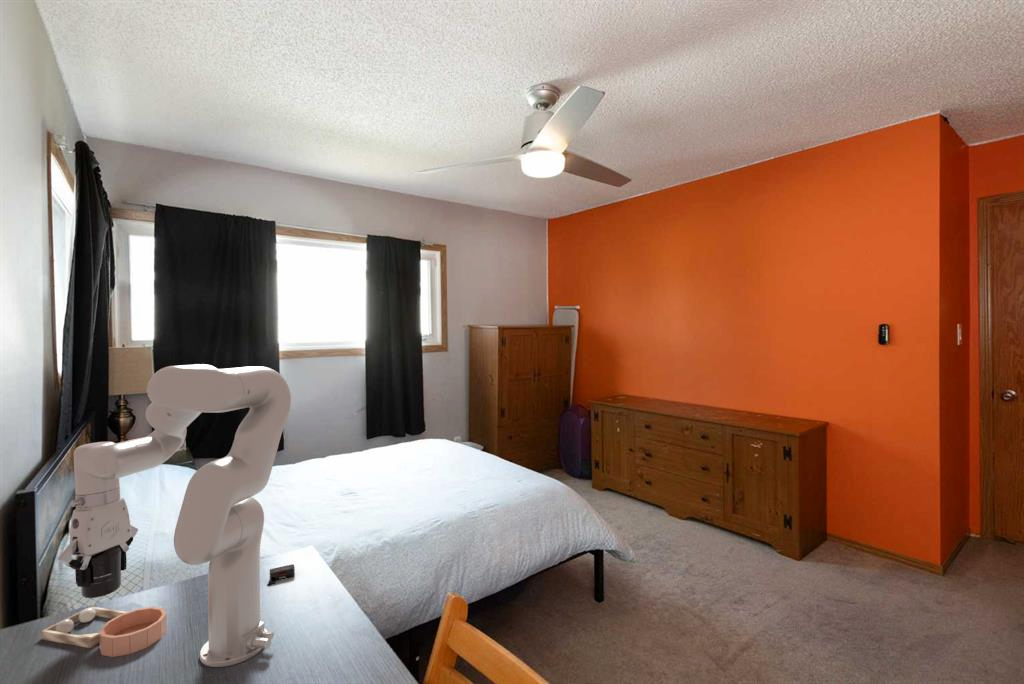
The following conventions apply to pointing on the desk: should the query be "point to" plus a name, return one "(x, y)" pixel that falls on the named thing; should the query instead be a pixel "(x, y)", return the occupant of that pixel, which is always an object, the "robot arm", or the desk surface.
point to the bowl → (132, 631)
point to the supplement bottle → (104, 573)
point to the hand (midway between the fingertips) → (102, 577)
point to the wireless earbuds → (281, 573)
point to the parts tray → (79, 640)
